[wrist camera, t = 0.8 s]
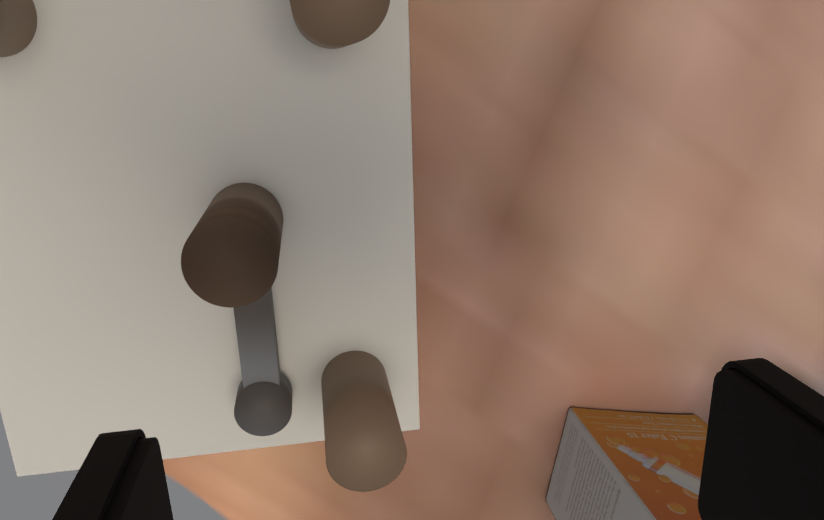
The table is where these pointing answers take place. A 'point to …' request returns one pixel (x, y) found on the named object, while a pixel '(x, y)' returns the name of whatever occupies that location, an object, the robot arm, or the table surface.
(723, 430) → the robot arm
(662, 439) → the small box
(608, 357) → the table surface
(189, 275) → the grey and brown lever
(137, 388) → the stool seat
